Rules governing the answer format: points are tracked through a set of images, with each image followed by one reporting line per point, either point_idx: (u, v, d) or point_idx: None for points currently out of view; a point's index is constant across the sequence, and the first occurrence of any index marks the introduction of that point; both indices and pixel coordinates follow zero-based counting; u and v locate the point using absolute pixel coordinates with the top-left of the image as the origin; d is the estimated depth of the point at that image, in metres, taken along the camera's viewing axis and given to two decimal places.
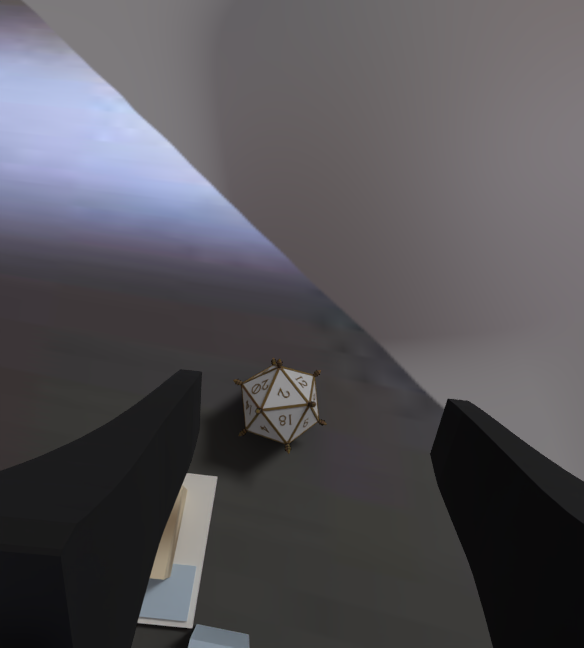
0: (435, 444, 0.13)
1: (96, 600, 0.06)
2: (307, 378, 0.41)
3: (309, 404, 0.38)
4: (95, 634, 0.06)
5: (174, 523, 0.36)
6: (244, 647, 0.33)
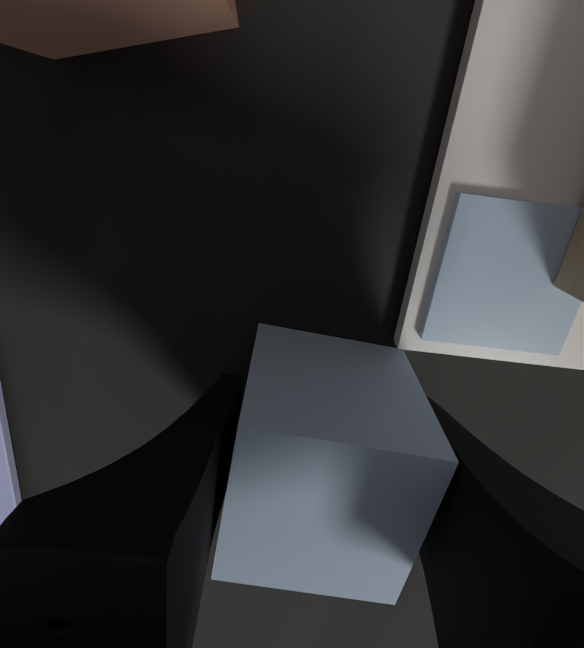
0: None
1: (179, 608, 0.06)
2: None
3: None
4: (176, 641, 0.06)
5: None
6: None
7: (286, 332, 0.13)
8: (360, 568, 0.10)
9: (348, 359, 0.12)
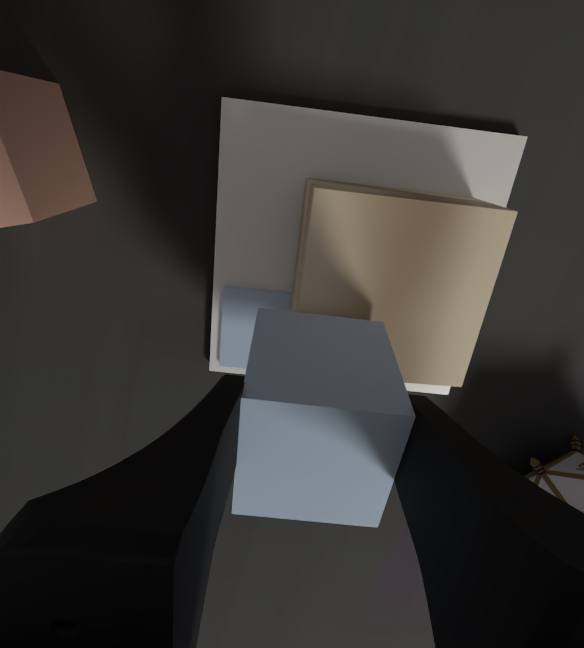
0: None
1: (185, 608, 0.06)
2: None
3: None
4: (182, 642, 0.06)
5: None
6: None
7: (281, 314, 0.15)
8: (347, 501, 0.13)
9: (334, 335, 0.14)
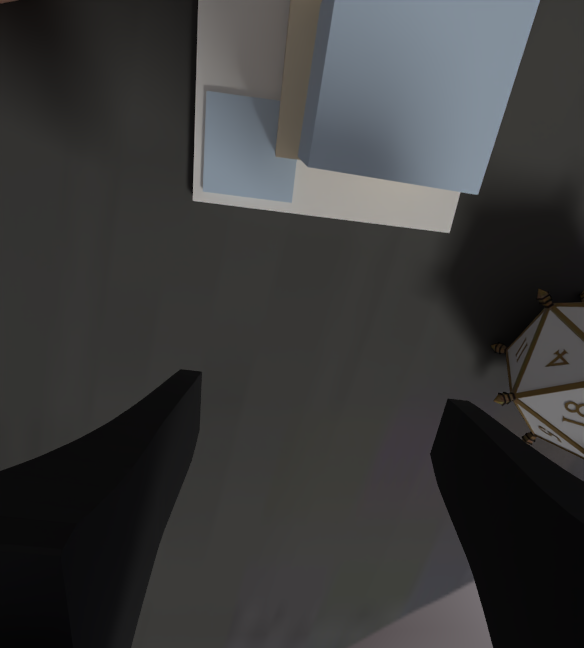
0: (435, 444, 0.13)
1: (96, 600, 0.06)
2: None
3: None
4: (95, 634, 0.06)
5: None
6: None
7: None
8: (448, 144, 0.11)
9: None
